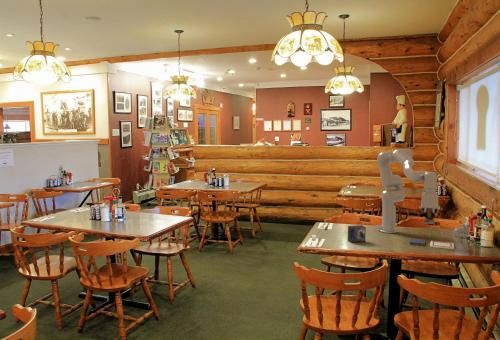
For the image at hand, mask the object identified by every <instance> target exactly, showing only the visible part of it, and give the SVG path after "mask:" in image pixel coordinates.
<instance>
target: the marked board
mask: <svg viewBox="0 0 500 340" xmlns="http://www.w3.org/2000/svg"><path fill="white" fill-rule="evenodd" d="M429 247H430V248H437V249H445V250H454V249H455V244H454V242H448V241H436V240H430V243H429Z"/></svg>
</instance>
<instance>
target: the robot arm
mask: <svg viewBox="0 0 500 340" xmlns="http://www.w3.org/2000/svg"><path fill="white" fill-rule="evenodd" d="M413 157H414V153H413V151H412V150H411V149H410V148H396V149H395V150H394V151H393V150H389V151H388V150H387V151H381V152H380V153H378V155H377V159H376V162H377V167H378V170H379V175H380V181H381V182H380V183H381V186H382V187H383V188H385V189H384V190H383V191H382V192H381V194H380V195H381V196H380V197H381V206H382V209H381V210H382V213H381V214H382V217H381V220H382V221H381V224H380V225H379V224H378V225H377V224H376V225H375V228H377V229H379V232H381V233H384V234H396V233H398V229H396V218H397V217H396V216H397V215H396V214H397V208H396V205H395V203H397V202H398V203H399V202H403V201H404V200H405V197H406V196H405V194H406V193H405V188H404V181H403V178H402V177H401V176H400V175H398V174H393V172H392V171H393V170H392V167H391V165H389V163H392V164H393V163H398V164H399V165H400V166H401V167H402V168H403V169H402V170H403V174H404V176H405V178H407V179H408V180H409V181H410V182H412V183H423V188H421V191H423V192H422V194H421V201H420V202H421V203H420V205H418V208H419V209H420V210H422V211H423V213H424V214H423V215H424V218H427V210H426V208H432V219H433V218H435V213H436V212H437V211H440V210H441V206H440V204H439V194H438V193H437V178H438V177H437V173H436V172H435V171H428V170H414V169H413V168H412V167H413V166H414V165H415V160H414V158H413ZM387 188H388V189H387Z"/></svg>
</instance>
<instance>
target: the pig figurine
mask: <svg viewBox="0 0 500 340" xmlns="http://www.w3.org/2000/svg"><path fill="white" fill-rule="evenodd" d="M469 223H470V222H469V221H466V222H465V223H462V224H461V227H460V226H456V227H455V228H454V237H457V238H458V239H461V238H460V234H462V237H467V236H468V237H469V233H470V232H469Z"/></svg>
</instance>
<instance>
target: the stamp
mask: <svg viewBox="0 0 500 340" xmlns="http://www.w3.org/2000/svg"><path fill="white" fill-rule="evenodd" d="M426 211H427V218H425V217H424V219H423V224H430V225H434V224H435V217H433V219H432V211H433V210H432V208H426Z"/></svg>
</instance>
